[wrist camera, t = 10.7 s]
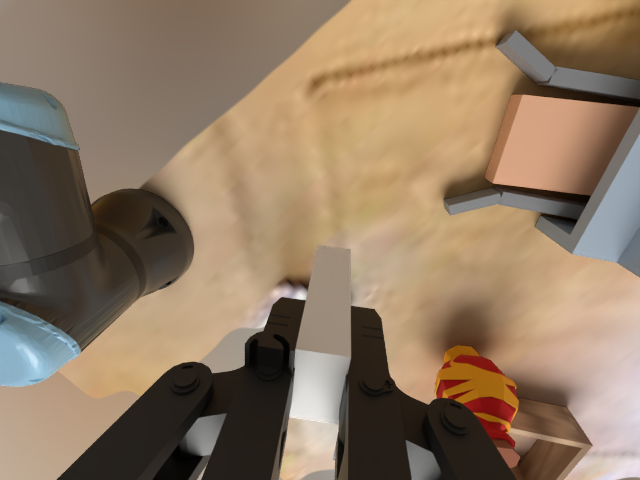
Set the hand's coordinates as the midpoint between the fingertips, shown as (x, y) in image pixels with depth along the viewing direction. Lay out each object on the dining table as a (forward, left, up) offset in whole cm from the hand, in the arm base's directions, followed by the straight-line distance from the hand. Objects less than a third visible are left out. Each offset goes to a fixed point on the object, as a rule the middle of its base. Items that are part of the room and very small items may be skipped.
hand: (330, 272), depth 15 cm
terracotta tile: (+22, +6, -27) cm, 35 cm away
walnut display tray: (+35, -40, -26) cm, 59 cm away
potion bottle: (+23, -26, -26) cm, 43 cm away
